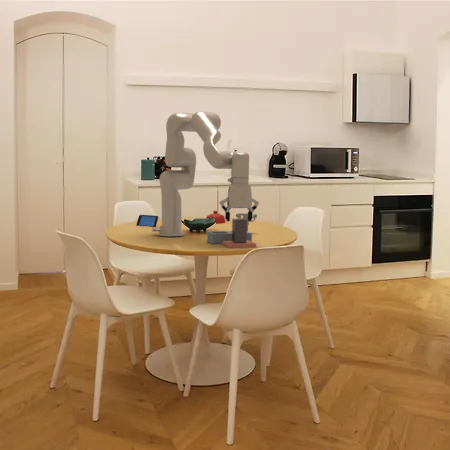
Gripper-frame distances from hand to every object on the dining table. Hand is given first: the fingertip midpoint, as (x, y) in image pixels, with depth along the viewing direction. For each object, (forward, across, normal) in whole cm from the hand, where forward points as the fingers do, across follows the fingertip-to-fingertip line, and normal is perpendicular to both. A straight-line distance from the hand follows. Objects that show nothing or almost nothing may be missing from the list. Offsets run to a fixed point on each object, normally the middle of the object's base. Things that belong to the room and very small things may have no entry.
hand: (238, 221), depth 281 cm
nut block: (+9, 0, 0) cm, 9 cm away
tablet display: (+13, -31, +72) cm, 80 cm away
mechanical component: (+12, +16, +42) cm, 46 cm away
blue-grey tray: (+11, -1, +12) cm, 16 cm away
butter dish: (+13, +11, +84) cm, 85 cm away
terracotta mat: (+11, 0, -1) cm, 11 cm away
